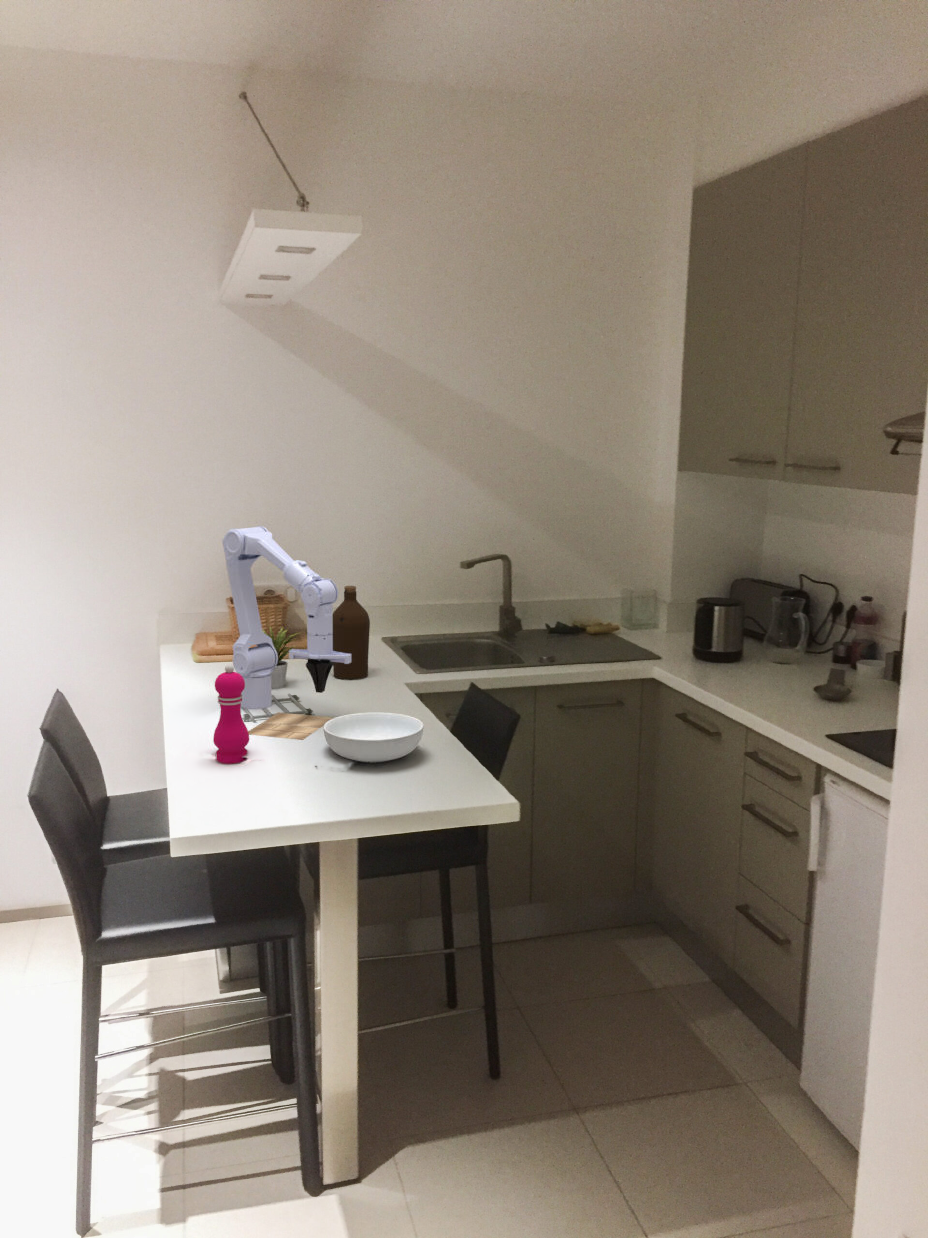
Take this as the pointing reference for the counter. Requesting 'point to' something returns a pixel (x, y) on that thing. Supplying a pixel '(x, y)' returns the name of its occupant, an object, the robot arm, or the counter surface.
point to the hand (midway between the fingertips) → (320, 691)
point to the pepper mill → (230, 718)
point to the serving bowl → (373, 736)
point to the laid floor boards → (282, 731)
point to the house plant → (280, 658)
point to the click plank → (298, 720)
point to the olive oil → (351, 636)
